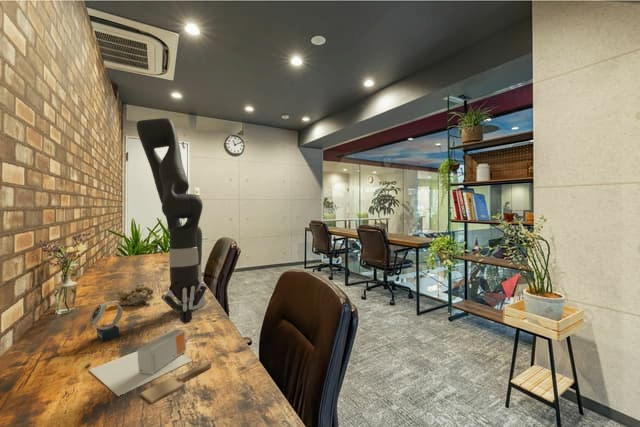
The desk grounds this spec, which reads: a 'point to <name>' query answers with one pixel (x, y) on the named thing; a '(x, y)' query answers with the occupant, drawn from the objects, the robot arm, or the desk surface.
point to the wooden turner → (172, 384)
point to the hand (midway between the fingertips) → (186, 322)
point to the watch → (109, 330)
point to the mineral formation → (135, 295)
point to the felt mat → (131, 372)
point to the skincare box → (161, 351)
